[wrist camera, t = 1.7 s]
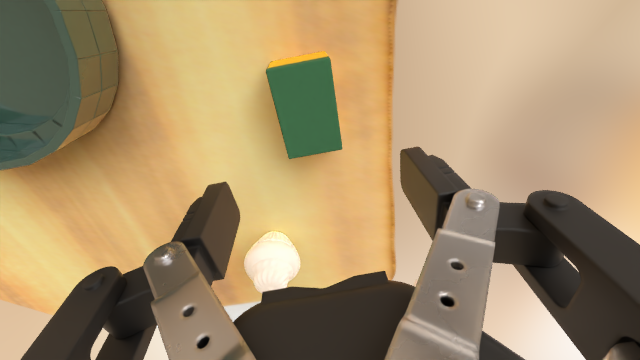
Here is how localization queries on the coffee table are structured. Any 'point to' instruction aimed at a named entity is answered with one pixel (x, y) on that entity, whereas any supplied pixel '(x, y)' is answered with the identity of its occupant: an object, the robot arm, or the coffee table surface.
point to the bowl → (53, 75)
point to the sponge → (305, 104)
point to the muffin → (272, 262)
